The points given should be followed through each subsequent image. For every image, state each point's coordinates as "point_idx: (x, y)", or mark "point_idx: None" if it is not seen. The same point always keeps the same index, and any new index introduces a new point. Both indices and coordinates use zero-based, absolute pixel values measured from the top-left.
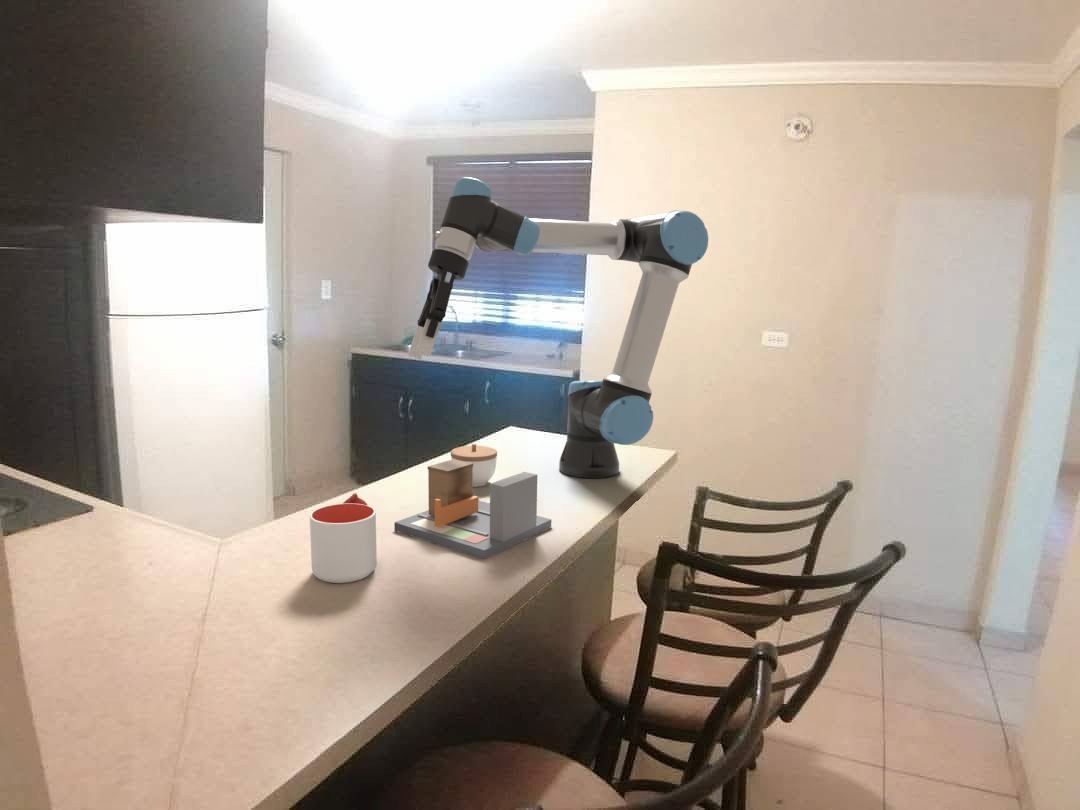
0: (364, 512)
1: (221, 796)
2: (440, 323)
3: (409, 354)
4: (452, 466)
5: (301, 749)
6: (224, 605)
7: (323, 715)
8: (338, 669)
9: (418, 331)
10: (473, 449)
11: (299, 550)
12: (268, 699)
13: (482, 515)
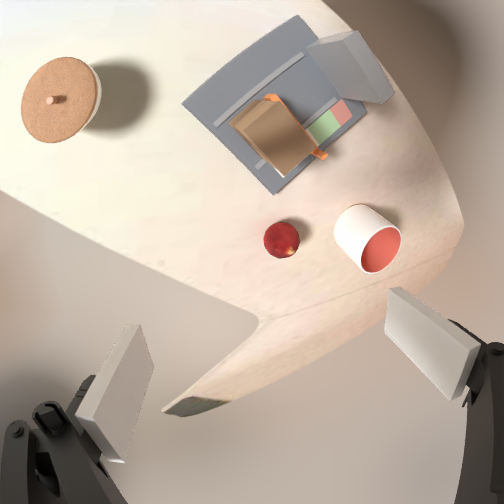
0: (366, 233)
1: (460, 235)
2: (480, 345)
3: (152, 366)
4: (292, 137)
5: (458, 219)
6: (367, 280)
7: (451, 215)
8: (435, 213)
9: (125, 434)
10: (57, 100)
11: (300, 266)
12: (438, 235)
13: (268, 88)
